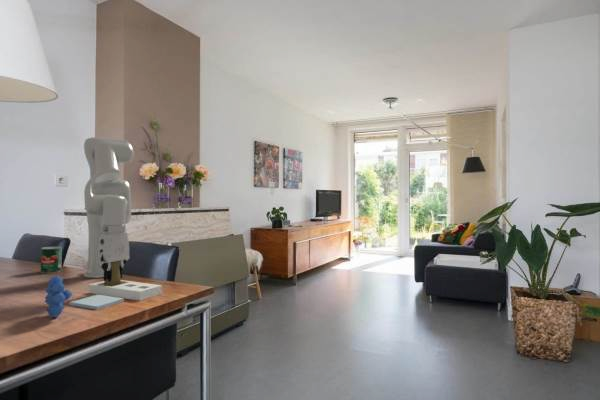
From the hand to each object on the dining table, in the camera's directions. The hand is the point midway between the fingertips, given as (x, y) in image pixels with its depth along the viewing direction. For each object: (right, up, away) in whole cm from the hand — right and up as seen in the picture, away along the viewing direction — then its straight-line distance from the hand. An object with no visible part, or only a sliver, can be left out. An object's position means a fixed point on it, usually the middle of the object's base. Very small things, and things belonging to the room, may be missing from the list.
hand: (112, 279), depth 133 cm
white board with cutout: (+6, -4, -3) cm, 8 cm away
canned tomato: (-45, -4, +33) cm, 55 cm away
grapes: (0, -5, -29) cm, 30 cm away
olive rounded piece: (0, -4, 0) cm, 4 cm away
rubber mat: (+3, -4, -15) cm, 16 cm away
